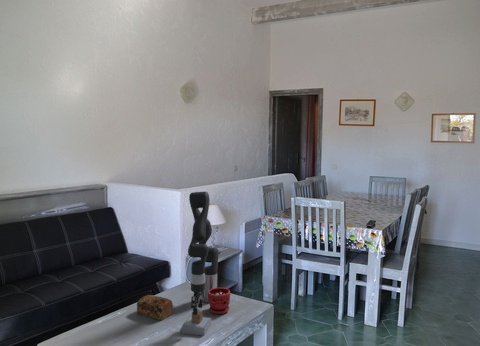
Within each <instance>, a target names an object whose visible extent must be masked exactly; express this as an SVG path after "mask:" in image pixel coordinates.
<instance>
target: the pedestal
mask: <svg viewBox="0 0 480 346" xmlns="http://www.w3.org/2000/svg"><path fill="white" fill-rule="evenodd" d="M211 326H212V317H205V316H202V321H201V323H200V324H199V323H192V315H189V316H188V317H187V318H186V320H185V321H184V322H183V324H182V325H181V328H182V330H181V333H182V334H187V335H188V334H189V335H196V336H203V337H204V336H206V334H207V332H208V331H209V329H210V328H211Z"/></svg>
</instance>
